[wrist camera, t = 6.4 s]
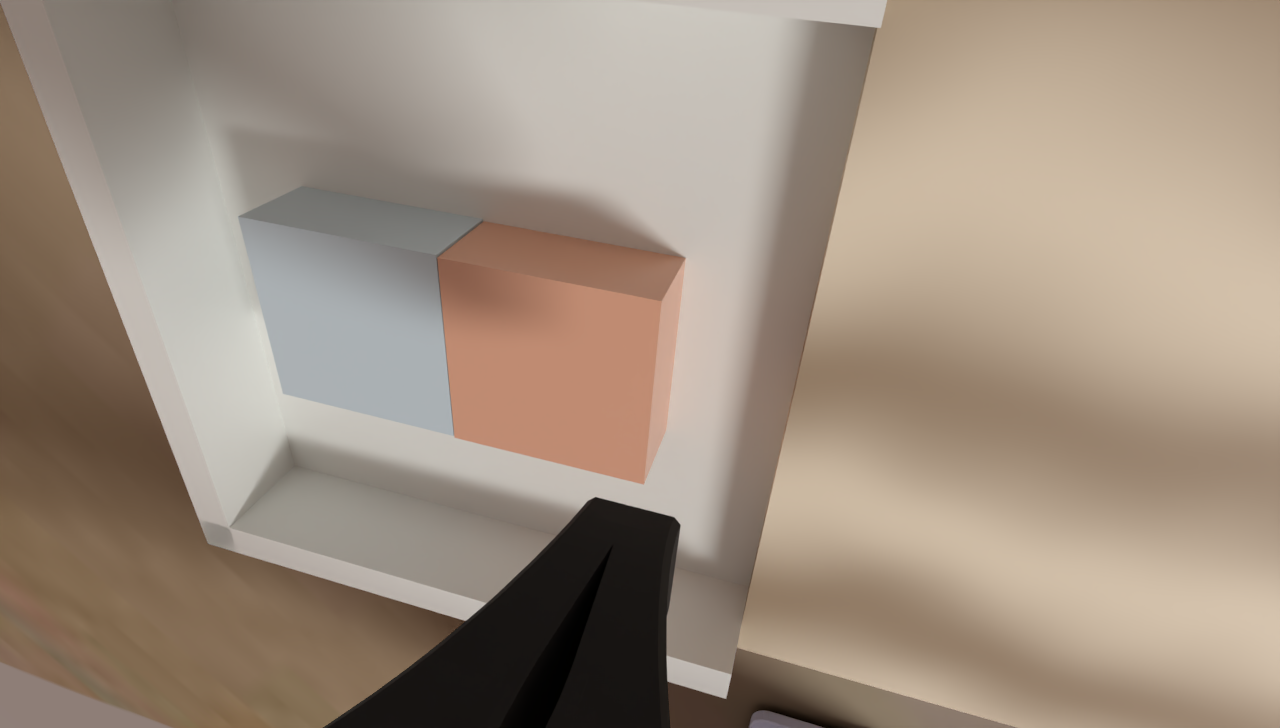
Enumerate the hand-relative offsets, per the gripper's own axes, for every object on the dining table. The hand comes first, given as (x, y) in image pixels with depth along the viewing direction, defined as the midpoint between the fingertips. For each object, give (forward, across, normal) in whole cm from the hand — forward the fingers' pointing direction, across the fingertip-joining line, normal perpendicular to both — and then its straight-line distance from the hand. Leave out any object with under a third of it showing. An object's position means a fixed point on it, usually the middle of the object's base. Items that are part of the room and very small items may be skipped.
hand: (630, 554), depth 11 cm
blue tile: (+6, +8, 0) cm, 10 cm away
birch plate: (+7, -8, 0) cm, 10 cm away
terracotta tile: (+6, +3, 0) cm, 7 cm away
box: (+7, +6, 0) cm, 9 cm away
